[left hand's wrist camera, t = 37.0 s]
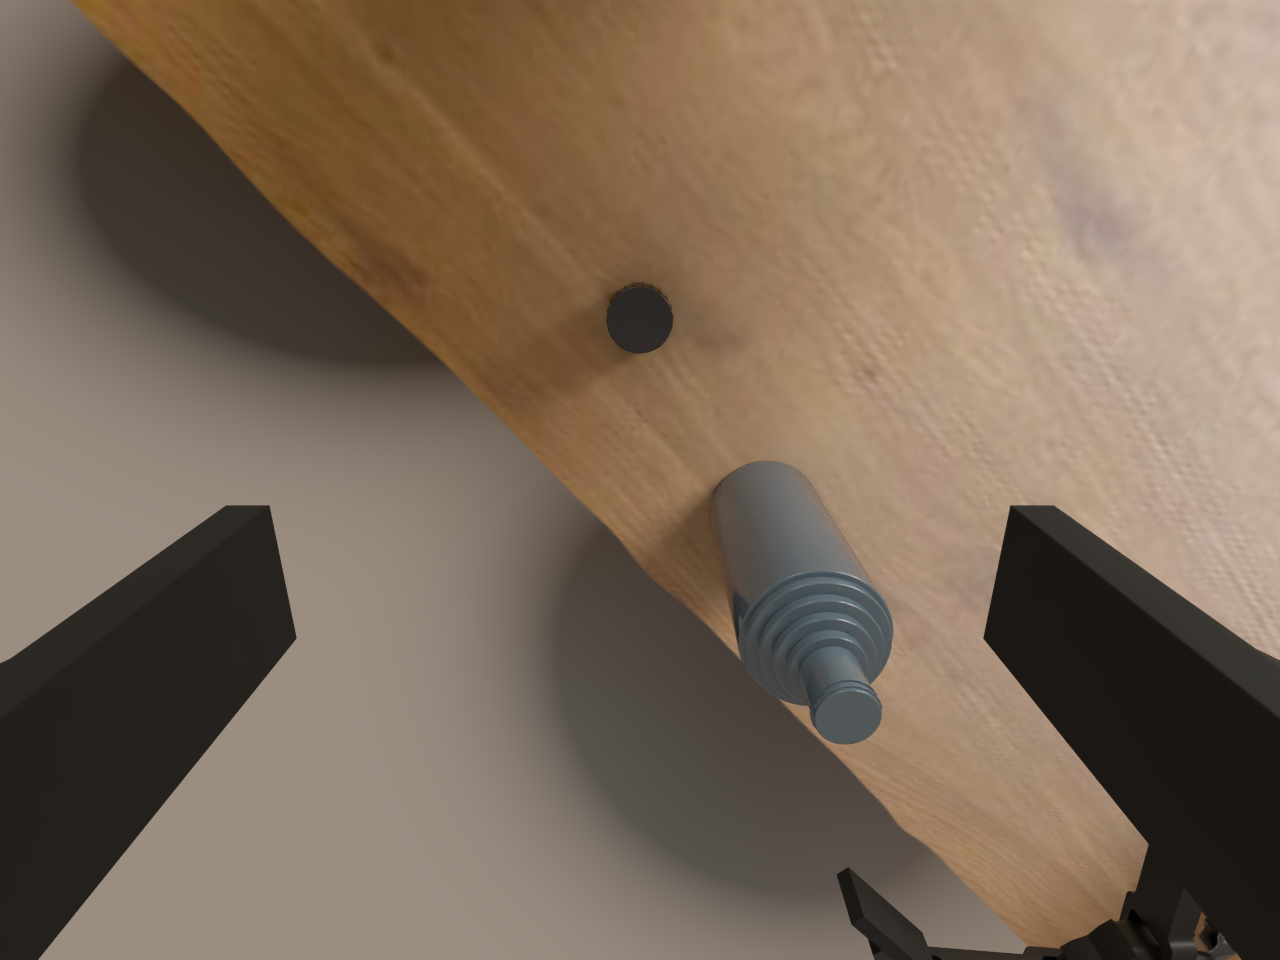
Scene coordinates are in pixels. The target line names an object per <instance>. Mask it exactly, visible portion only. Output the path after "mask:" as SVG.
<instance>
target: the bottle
mask: <svg viewBox="0 0 1280 960" xmlns="http://www.w3.org/2000/svg"><path fill="white" fill-rule="evenodd" d="M709 518H710V525H711V529H712V533H713V538H714V542H715V547H716V551H717V556H718V560H719V565H720V569H721V573H722V578H723V582H724V587H725V591H726V596H727V600H728V604H729V609H730V613H731V618H732V622H733V627H734V631H735V636H736V640H737V644H738V649H739V653H740V657H741V660H742V663H743V665H744V667H745V669H746V670H747V672H748V673H749V675H750V676H751V677H752V678H753V679H754V680H755V681H756V683H758V684H759V685H760V686H761V687H763V688H764V689H765V690H766V691H768V692H769V693H770V694H772V695H773V696H775V697H777V698H779V699H781V700H783V701H786V702H789V703H792V704H797V705H803V706H809V709H810V718H811V721H812V723H813V725H814V727H815V728H816V729H817V731H818V732H819V734H820V735H821V736H822V737H824V738H825V739H827V740H828V741H830V742H833V743H837V744H853V743H857V742H860V741H862V740H864V739H866V738H868V737H869V736H870V735H872V734H873V733H874V732H875V730H876V729H877V728H878V726H879V724H880V721H881V716H882V706H881V702H880V700H879V698H878V696H877V693H876V692H875V691H874V689H873V688H872V687H871V686H870V684H871V683H872V682H873V681H874V680H875V679H876V678H877V677H878V675H879V674H880V673H881V671H882V670H883V668H884V666H885V665H886V662H887V660H888V658H889V655H890V651H891V645H892V639H893V621H892V617H891V613H890V610H889V608H888V606H887V604H886V602H885V600H884V599H883V597H882V596H881V594H880V592H879V591H878V589H877V588H876V586H875V584H874V583H873V581H872V580H871V578H870V576H869V575H868V573H867V572H866V570H865V569H864V567H863V565H862V564H861V562H860V561H859V559H858V557H857V556H856V554H855V553H854V551H853V549H852V548H851V546H850V545H849V543H848V542H847V540H846V538H845V537H844V535H843V534H842V532H841V530H840V529H839V527H838V526H837V524H836V522H835V521H834V519H833V518H832V516H831V514H830V513H829V511H828V510H827V508H826V507H825V505H824V503H823V502H822V500H821V499H820V497H819V495H818V494H817V492H816V491H815V489H814V487H813V486H812V484H811V483H810V481H809V480H808V479H807V478H806V477H805V476H804V475H803V474H802V473H801V472H800V471H798V470H797V469H795V468H793V467H791V466H789V465H786V464H783V463H779V462H772V461H761V462H755V463H751V464H748V465H745V466H743V467H740V468H738V469H737V470H735V471H733V472H732V473H731V474H729V475H728V476H727V477H726V478H725V479H724V480H723V481H722V482H721V484H720V485H719V486H718V488H717V489H716V491H715V493H714V495H713V497H712V500H711V504H710V511H709Z"/></svg>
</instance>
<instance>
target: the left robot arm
mask: <svg viewBox="0 0 1280 960" xmlns="http://www.w3.org/2000/svg"><path fill="white" fill-rule="evenodd" d="M983 639H984V640H985V641H986V642H987V644H988V645H989V646H990V647H991V648H992V650H993V651H994V652H995V653H996V655H997V656H998V657H999V658H1000V660H1001V661H1002V662H1003V663H1004V665H1005V666H1006V667H1007V668H1008V670H1009V671H1010V672H1011V673H1012V675H1013V676H1014V677H1015V678H1016V680H1017V681H1018V682H1019V683H1020V685H1021V686H1022V687H1023V688H1024V690H1025V691H1026V692H1027V693H1028V694H1029V696H1030V697H1031V698H1032V699H1033V701H1034V702H1035V703H1036V704H1037V706H1038V707H1039V708H1040V709H1041V711H1042V712H1043V713H1044V714H1045V716H1046V717H1047V718H1048V719H1049V721H1050V722H1051V723H1052V724H1053V726H1054V727H1055V728H1056V729H1057V731H1058V732H1059V733H1060V734H1061V735H1062V737H1063V738H1064V739H1065V740H1066V742H1067V743H1068V744H1069V745H1070V747H1071V748H1072V749H1073V750H1074V752H1075V753H1076V754H1077V755H1078V757H1079V758H1080V759H1081V760H1082V762H1083V763H1084V764H1085V765H1086V767H1087V768H1088V769H1089V770H1090V772H1091V773H1092V774H1093V775H1094V776H1095V778H1096V779H1097V780H1098V781H1099V783H1100V784H1101V785H1102V786H1103V788H1104V789H1105V790H1106V791H1107V793H1108V794H1109V795H1110V796H1111V798H1112V799H1113V800H1114V801H1115V803H1116V804H1117V805H1118V806H1119V808H1120V809H1121V810H1122V811H1123V813H1124V814H1125V815H1126V816H1127V817H1128V819H1129V820H1130V821H1131V822H1132V824H1133V825H1134V826H1135V827H1136V829H1137V830H1138V831H1139V832H1140V834H1141V835H1142V836H1143V837H1144V839H1145V840H1146V841H1147V842H1148V844H1149V845H1150V846H1151V847H1152V849H1153V850H1154V851H1155V852H1156V854H1157V855H1158V856H1159V857H1160V859H1161V860H1162V861H1163V862H1164V863H1165V865H1166V866H1167V867H1168V868H1169V870H1170V871H1171V872H1172V873H1173V875H1174V876H1175V877H1176V878H1177V880H1178V881H1179V882H1180V883H1181V885H1182V886H1183V887H1184V888H1185V890H1186V891H1187V892H1188V893H1189V895H1190V896H1191V897H1192V898H1193V900H1194V901H1195V902H1196V903H1197V904H1198V906H1199V907H1200V908H1201V909H1202V911H1203V912H1204V913H1205V914H1206V916H1207V917H1208V918H1209V919H1210V921H1211V922H1212V923H1213V924H1214V926H1215V927H1216V928H1217V929H1218V931H1219V932H1220V933H1221V934H1222V936H1223V937H1224V938H1225V939H1226V941H1227V942H1228V943H1229V944H1230V945H1231V947H1232V948H1233V949H1234V950H1235V952H1236V953H1237V954H1238V955H1239V957H1240V958H1241V959H1242V960H1280V660H1278V659H1276V658H1274V657H1272V656H1270V655H1267V654H1265V653H1263V652H1261V651H1259V650H1257V649H1255V648H1254V647H1252V646H1251V645H1250V644H1248V643H1247V642H1245V641H1244V640H1242V639H1241V638H1240V637H1238V636H1237V635H1235V634H1234V633H1233V632H1231V631H1230V630H1228V629H1227V628H1226V627H1224V626H1223V625H1221V624H1220V623H1219V622H1217V621H1216V620H1214V619H1213V618H1212V617H1210V616H1209V615H1207V614H1206V613H1204V612H1203V611H1202V610H1200V609H1199V608H1197V607H1196V606H1195V605H1193V604H1192V603H1190V602H1189V601H1188V600H1186V599H1185V598H1183V597H1182V596H1181V595H1179V594H1178V593H1176V592H1175V591H1173V590H1172V589H1171V588H1169V587H1168V586H1166V585H1165V584H1164V583H1162V582H1161V581H1159V580H1158V579H1157V578H1155V577H1154V576H1152V575H1151V574H1150V573H1148V572H1147V571H1145V570H1144V569H1143V568H1141V567H1140V566H1138V565H1137V564H1135V563H1134V562H1133V561H1131V560H1130V559H1128V558H1127V557H1126V556H1124V555H1123V554H1121V553H1120V552H1119V551H1117V550H1116V549H1114V548H1113V547H1112V546H1110V545H1109V544H1107V543H1106V542H1104V541H1103V540H1102V539H1100V538H1099V537H1097V536H1096V535H1095V534H1093V533H1092V532H1090V531H1089V530H1088V529H1086V528H1085V527H1083V526H1082V525H1081V524H1079V523H1078V522H1076V521H1075V520H1073V519H1072V518H1071V517H1069V516H1068V515H1066V514H1065V513H1064V512H1062V511H1061V510H1059V509H1058V508H1057V507H1055V506H1010V511H1009V516H1008V521H1007V525H1006V530H1005V535H1004V540H1003V545H1002V550H1001V555H1000V560H999V565H998V569H997V574H996V579H995V584H994V589H993V594H992V599H991V604H990V609H989V613H988V618H987V623H986V628H985V633H984V638H983ZM295 640H296V633H295V628H294V623H293V618H292V613H291V609H290V604H289V599H288V594H287V589H286V584H285V580H284V574H283V569H282V565H281V560H280V555H279V550H278V545H277V540H276V535H275V530H274V525H273V521H272V516H271V511H270V506H225V507H223V508H222V509H221V510H219V511H218V512H217V513H215V514H214V515H212V516H211V517H209V518H208V519H207V520H205V521H204V522H202V523H201V524H199V525H198V526H197V527H195V528H194V529H193V530H191V531H190V532H188V533H187V534H185V535H184V536H183V537H181V538H180V539H178V540H177V541H176V542H174V543H173V544H171V545H170V546H169V547H167V548H166V549H164V550H163V551H161V552H160V553H159V554H157V555H156V556H154V557H153V558H152V559H150V560H149V561H147V562H146V563H145V564H143V565H142V566H140V567H139V568H137V569H136V570H135V571H133V572H132V573H130V574H129V575H128V576H126V577H125V578H123V579H122V580H121V581H119V582H118V583H116V584H115V585H114V586H112V587H111V588H109V589H108V590H107V591H105V592H104V593H102V594H101V595H99V596H98V597H97V598H95V599H94V600H92V601H91V602H90V603H88V604H87V605H85V606H84V607H83V608H81V609H80V610H78V611H77V612H76V613H74V614H73V615H71V616H70V617H68V618H67V619H66V620H64V621H63V622H61V623H60V624H59V625H57V626H56V627H54V628H53V629H52V630H50V631H49V632H47V633H46V634H45V635H43V636H42V637H40V638H39V639H38V640H36V641H35V642H33V643H32V644H30V645H29V646H28V647H26V648H25V649H23V650H22V651H21V652H19V653H18V654H16V655H15V656H14V657H12V658H11V659H9V660H6V661H4V662H2V663H0V960H38V959H39V958H40V957H41V955H42V954H43V953H44V952H45V950H46V949H47V948H48V947H49V945H50V944H51V943H52V942H53V941H54V939H55V938H56V937H57V935H58V934H59V933H60V932H61V931H62V929H63V928H64V927H65V926H66V924H67V923H68V922H69V921H70V919H71V918H72V917H73V916H74V914H75V913H76V912H77V911H78V909H79V908H80V907H81V906H82V904H83V903H84V902H85V901H86V900H87V898H88V897H89V896H90V895H91V893H92V892H93V891H94V890H95V888H96V887H97V886H98V885H99V883H100V882H101V881H102V880H103V878H104V877H105V876H106V875H107V873H108V872H109V871H110V870H111V868H112V867H113V866H114V865H115V863H116V862H117V861H118V860H119V858H120V857H121V856H122V855H123V853H124V852H125V851H126V850H127V849H128V847H129V846H130V845H131V844H132V842H133V841H134V840H135V839H136V837H137V836H138V835H139V834H140V832H141V831H142V830H143V829H144V827H145V826H146V825H147V824H148V822H149V821H150V820H151V819H152V817H153V816H154V815H155V814H156V813H157V811H158V810H159V809H160V808H161V806H162V805H163V804H164V803H165V801H166V800H167V799H168V798H169V796H170V795H171V794H172V793H173V791H174V790H175V789H176V788H177V786H178V785H179V784H180V783H181V781H182V780H183V779H184V778H185V776H186V775H187V774H188V773H189V772H190V770H191V769H192V768H193V767H194V765H195V764H196V763H197V762H198V760H199V759H200V758H201V757H202V755H203V754H204V753H205V752H206V750H207V749H208V748H209V747H210V745H211V744H212V743H213V742H214V740H215V739H216V738H217V737H218V735H219V734H220V733H221V732H222V730H223V729H224V728H225V727H226V726H227V724H228V723H229V722H230V721H231V719H232V718H233V717H234V716H235V714H236V713H237V712H238V711H239V709H240V708H241V707H242V706H243V704H244V703H245V702H246V701H247V699H248V698H249V697H250V696H251V694H252V693H253V692H254V691H255V690H256V688H257V687H258V686H259V685H260V683H261V682H262V681H263V680H264V678H265V677H266V676H267V675H268V673H269V672H270V671H271V670H272V668H273V667H274V666H275V665H276V663H277V662H278V661H279V660H280V658H281V657H282V656H283V655H284V653H285V652H286V651H287V650H288V648H289V647H290V646H291V645H292V644H293V642H294V641H295Z"/></svg>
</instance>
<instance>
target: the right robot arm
mask: <svg viewBox="0 0 1280 960" xmlns="http://www.w3.org/2000/svg"><path fill="white" fill-rule="evenodd" d="M837 877H838V880H839V884H840V887H841V891H842V894H843V897H844V901H845V904H846V907H847V911H848V914H849V918H850V921H851V924H852V925H853V926H854V927H855V928H856V929H858V930H859V931H860V932H861V933H862V934H863V935H865V936H866V937H867V938H868V941H869V944H870V947H871V950H872V953H873V956H874V959H875V960H1224V959H1227V958H1229V957H1232V956H1234V955H1236V954H1237V953H1236V952H1235V950H1234V949H1233V948H1232V947H1231V945H1230V944H1229V943H1228V942H1227V941H1226V939H1225V938H1224V937H1223V936H1222V934H1221V933H1220V932H1219V931H1218V929H1217V928H1216V927H1215V926H1214V924H1213V923H1212V922H1211V921H1210V919H1209V918H1208V917H1207V916H1206V914H1205V913H1204V912H1203V911H1202V909H1201V908H1200V907H1199V906H1198V904H1197V903H1196V902H1195V901H1194V900H1193V898H1192V897H1191V896H1190V895H1189V893H1188V892H1187V891H1186V890H1185V888H1184V887H1183V886H1182V885H1181V883H1180V882H1179V881H1178V880H1177V878H1176V877H1175V876H1174V875H1173V873H1172V872H1171V871H1170V870H1169V868H1168V867H1167V866H1166V865H1165V863H1164V862H1163V861H1162V860H1161V859H1160V857H1159V856H1158V855H1157V854H1156V852H1155V851H1154V850H1153V849H1152V847H1151V846H1150V845H1148V849H1147V853H1146V856H1145V860H1144V863H1143V867H1142V871H1141V874H1140V878H1139V881H1138V885H1137V889H1136V891H1128V892H1127V894H1126V897H1125V901H1124V905H1123V908H1122V912H1121V916H1120V919H1119V921H1115V922H1114V921H1113V920H1112V919H1111V920H1109V921H1107V922H1105V923H1103V924H1101V925H1100V926H1098V927H1097V928H1096V929H1094V930H1093V931H1092V932H1091V933H1090V934H1088V935H1087V936H1084V937H1081V938H1078V939H1075V940H1072V941H1070V942H1068V943H1066V944H1065V945H1063V946H1061V947H1060V948H1061V949H1057V948H1044V947H1032V946H1029V947H1027V948H1025V951H1024V953H1023V954H1012V953H1000V952H987V951H975V950H963V949H951V948H938V947H928V946H927V943H926V941H925V938H924V936H923V933H922V932H921V931H920V930H919V929H918V928H917V927H916V926H914V925H913V924H912V923H911V922H910V921H909V920H908V919H906V918H905V917H904V916H903V915H902V914H901V913H900V912H899V911H897V910H896V909H895V908H894V907H893V906H892V905H891V904H889V903H888V902H887V901H886V900H885V899H884V898H883V897H882V896H881V895H879V894H878V893H877V892H876V891H875V890H874V889H873V888H871V887H870V886H869V885H868V884H867V883H866V882H865V881H864V880H862V879H861V878H860V877H859V876H858V875H857V874H856V873H855V872H853V871H852V870H851V869H850V868H849V867H848V868H846V869H845V870H843V871H842V872H840V873H838V874H837ZM1201 911H1202V912H1203V914H1204V915H1205V916H1206V918H1205V920H1204V929H1203V930H1202V932H1200V933H1199V934H1197V935H1195V934H1194V933H1195V930H1196V926H1197V923H1198V920H1199V917H1200V914H1201Z"/></svg>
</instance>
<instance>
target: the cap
mask: <svg viewBox="0 0 1280 960" xmlns="http://www.w3.org/2000/svg"><path fill="white" fill-rule="evenodd" d="M610 303H611V304H610V307H608V310H607V312H608V314H607V320H606V322H607V326H608V331H609V333H610V335H611V337H612V339H613V340H614V341H615V342H616V344H618V345H619V346H620V347H621V348H623V349H625V350H627V351H629V352H633V353H647V352H650V351H653V350H655V349H657V348H658V347H660V346H661V345H662V344H663V343H664V342H665V341H666V339H667V338H668V337H669V334H670V332H671V329H672V323H673V315H672V311H671V309H672V308H671V305H670V304H669V302H668V299H667V296H665V295H664V294H663V293H662V292H661V290H660V289H657V288H656V287H654V286H653V285H652V284H651V285H649V284H646V283H644V282H642V283H633V284H630V285H627V286H624V288H622V289H621V290H620V291H617V293H616V295H615V296H614V298H613V299H611V302H610Z"/></svg>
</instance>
